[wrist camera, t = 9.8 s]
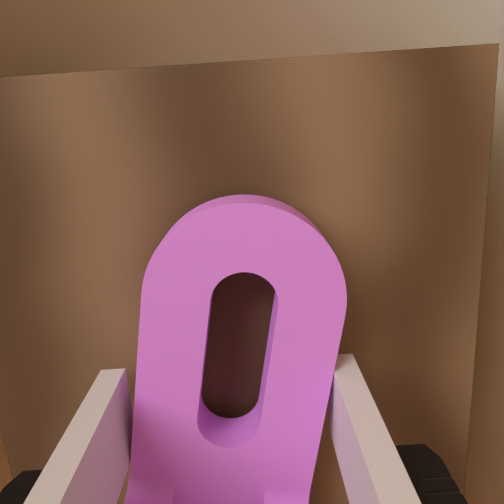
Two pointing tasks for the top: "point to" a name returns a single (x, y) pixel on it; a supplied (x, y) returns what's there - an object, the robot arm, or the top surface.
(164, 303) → the bracket
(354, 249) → the walnut block
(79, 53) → the top surface
